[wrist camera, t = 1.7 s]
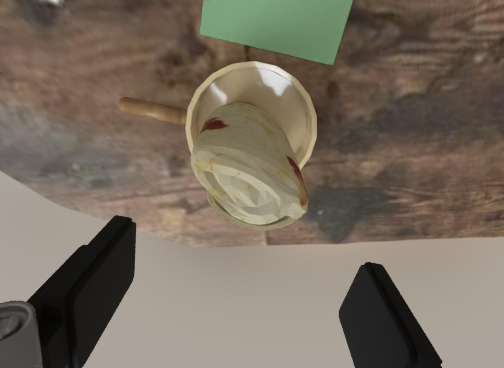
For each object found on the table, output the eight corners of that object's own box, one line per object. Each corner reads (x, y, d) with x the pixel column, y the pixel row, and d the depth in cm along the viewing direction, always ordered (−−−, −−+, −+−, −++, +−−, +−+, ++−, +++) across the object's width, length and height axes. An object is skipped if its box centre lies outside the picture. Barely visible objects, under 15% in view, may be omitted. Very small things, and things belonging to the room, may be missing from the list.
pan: (188, 166, 38) (179, 179, 34) (201, 48, 31) (193, 46, 27) (292, 186, 39) (296, 201, 35) (325, 77, 33) (335, 79, 28)
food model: (297, 126, 35) (342, 198, 17) (266, 165, 37) (277, 266, 19) (234, 80, 32) (207, 105, 14) (206, 125, 35) (153, 195, 17)
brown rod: (122, 110, 32) (115, 112, 30) (122, 94, 31) (114, 96, 29) (192, 124, 33) (188, 128, 31) (193, 110, 32) (190, 112, 30)
